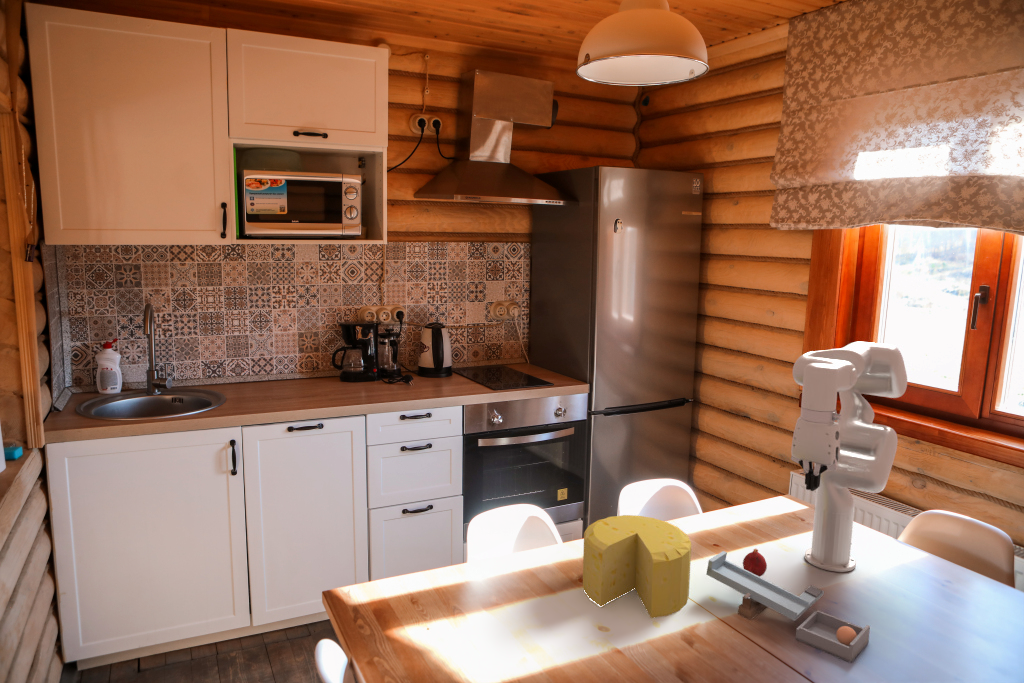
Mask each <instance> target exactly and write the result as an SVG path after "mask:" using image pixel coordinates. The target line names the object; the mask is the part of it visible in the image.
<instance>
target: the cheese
mask: <svg viewBox="0 0 1024 683" xmlns="http://www.w3.org/2000/svg"><path fill="white" fill-rule="evenodd" d="M691 555H692V542H691V540H690V537H689V535H687V534H686V533H685V532H684V531H683V530H682V529H681V528H680V527H678V526H677V525H674V524H672V523H670V522H668V521H665V520H661V519H658V518H655V517H650V516H643V515H631V514H630V515H629V514H628V515H627V514H624V515H616V516H608V517H606V518H602V519H598V520H596V521H595V522H592V523H591V524H589V525H588V526H587V528H586V529H585V531H584V532H583V556H582V557H583V560H582V561H583V562H582V563H583V564H582V589H583V588H584V590H585V592H586V593H587V595H588V596H589V598H591V599H592V600H593V601H595V602H596V603H597V604H599V605H600V606H602V605H604V604H606V603H607V602H609V601H611V600H613V599H615V598H617V597H619V596H621V595H623V594H625V593H627V592H629V591H631V590H632V589H634V588H635V589H636V590H635V592H636V591H637V592H636V594H637V593H638V594H637V595H639V596H638V598H639V597H640V598H641V599H640V598H639V599H640V601H641V600H642V601H641V603H642V602H643V603H642V605H643V604H644V605H643V606H645V607H644V608H645V610H646V609H647V610H646V611H648V612H647V613H649V614H648V615H650V616H649V617H650V619H655V618H656V619H657V618H661V617H667V616H670V615H672V613H673V614H676V613H677V612H680V611H681V610H682V609H683V608H684V607H685V606H686V605H687V604H688V600H689V595H690V579H691V561H692V560H691V559H692V558H691V557H692V556H691ZM631 592H632V591H631ZM629 593H630V592H629ZM627 594H628V593H627ZM625 595H626V594H625ZM654 617H655V618H654Z"/></svg>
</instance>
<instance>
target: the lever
mask: <svg viewBox="0 0 1024 683" xmlns="http://www.w3.org/2000/svg"><path fill="white" fill-rule="evenodd" d="M727 553H728V552H726V551H725V550H722V551H721V552H719V553H718V554H716V555H714V556H713V557H712V558H710V559H708V563H707V564H708V565H707V569H706V575H707V576H709V577H710V578H712V579H714V580H716V581H718V582H720V583H722V584H723V585H725V586H727V587H729V588H730V589H733V590H734V591H737V592H739V593H741V594H743V597H744V598H745V599H747V598H752V599H754V600H756V601H758V602H759V603H761V604H763V605H765V606H767V607H766V608H769V609H771V610H773V611H774V612H777V613H779V614H780V615H782V616H784V617H786V618H788V619H790V620H792V621H794V622H795V621H797V619H799V617H800V616H802V615H803V614H804V613H805V612H807V611H808V610H809V608H810V607H812V606H813V605H814V604H815V603H816V602H817V601H818V600H819V599H820V598H822V597H823V596H824V592H825V591H824V590H822V589H821V588H818V587H816V586H814V585H812V584H810V585H809V586H808V587H807V588H805V589H804V591H803V592H802V593H801V594H800V595H797V594H795V593H793V592H791V591H789V590H787V589H785V588H783V587H782V586H779V585H777V584H774V583H773V582H771V581H769V580H767V579H765V578H763V577H762V576H760V577H759V576H757V575H755V574H753V573H751V572H749V571H747V570H745V569H744V568H743V567H740V566H739V565H737V564H735V563H733V562H731V561H729V560H727Z"/></svg>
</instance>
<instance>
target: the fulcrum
mask: <svg viewBox="0 0 1024 683" xmlns="http://www.w3.org/2000/svg"><path fill="white" fill-rule="evenodd" d="M741 602H742V603H741V604H740V605H738V606H737V607H738V608H737V615H738V616H741V617H743V618H745V619H748V620H750V621H751V620H753V619H754V618H755V617H757V615H759V614H760V613H761V612H762V611H764V610H765V609H766V608H768V607H767V606H765V605H763V604H761V603H759V602H758V601H756V600H754V599H752V598H750V597H749V598H747V599H745V598H744V596H742V601H741Z"/></svg>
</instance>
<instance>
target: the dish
mask: <svg viewBox="0 0 1024 683" xmlns="http://www.w3.org/2000/svg"><path fill="white" fill-rule="evenodd" d="M842 626H848V627H850V628H852V629H853V630H854V631H855V632H856V634H857V637H856V638H855V639H854V640H853V641H852V642H851V643H850V646H846V645H844V644H841V643H840V642H839V641H838V639H837V635H836V634H837V630H838V629H839V628H840V627H842ZM870 629H871V625H868V624H866V625H865V627H862V626H860V625H856V624H855V623H853V622H850V621H847V620H844V619H842V618H839V617H837V616H834V615H831V614H829V613H826V612H824V611H821V610H817V611H814V612H812V614H811V615H810V616H808V617H807V618H806V619H805V620H804V621H803V622H802V623H801V624H800V625H799V626H797V627H796V630H795V640H796V641H799V642H801V643H804V644H805V645H808V646H810V647H813V648H815V649H818V650H820V651H822V652H824V653H826V654H829V655H832V656H834V657H836V658H839V659H841V660H843V661H845V662H848V663H850V664H852V663H853V662H854V661H855V659H856V658H857V657H858V656H859V654H860V653H861V652H863V650H864V649H865V647H867V645H868V644H869V641H870Z"/></svg>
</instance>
